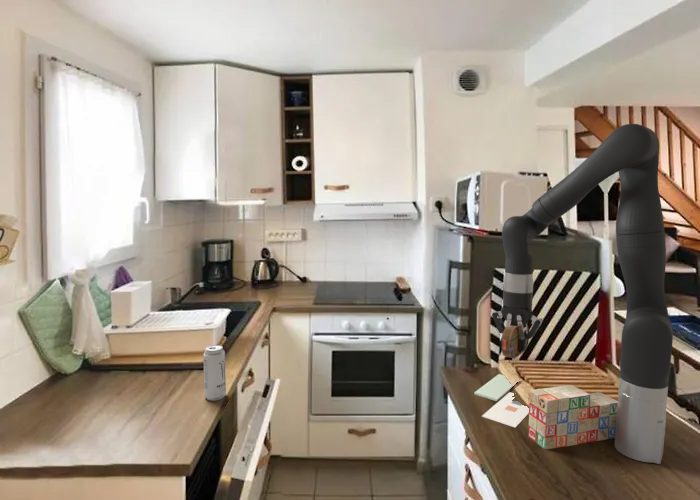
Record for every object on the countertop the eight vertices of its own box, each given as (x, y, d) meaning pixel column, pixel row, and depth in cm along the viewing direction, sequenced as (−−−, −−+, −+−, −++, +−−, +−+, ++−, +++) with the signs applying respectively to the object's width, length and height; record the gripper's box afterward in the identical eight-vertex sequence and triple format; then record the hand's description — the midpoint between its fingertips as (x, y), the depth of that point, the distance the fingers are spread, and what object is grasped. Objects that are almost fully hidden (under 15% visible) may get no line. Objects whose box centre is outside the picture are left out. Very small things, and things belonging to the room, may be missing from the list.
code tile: (539, 404, 127) (540, 400, 127) (515, 431, 112) (515, 427, 112) (509, 395, 133) (509, 391, 133) (481, 419, 118) (481, 415, 117)
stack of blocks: (597, 425, 113) (601, 380, 112) (618, 438, 107) (621, 390, 106) (527, 436, 108) (529, 389, 106) (544, 450, 102) (547, 400, 100)
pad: (519, 381, 141) (520, 379, 141) (496, 401, 126) (496, 399, 126) (498, 375, 145) (498, 373, 145) (474, 394, 131) (474, 392, 131)
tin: (510, 362, 114) (511, 331, 113) (498, 359, 116) (500, 328, 115) (529, 348, 125) (531, 319, 124) (518, 345, 127) (520, 317, 126)
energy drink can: (222, 401, 125) (221, 351, 124) (201, 401, 125) (200, 351, 124) (228, 392, 131) (227, 344, 130) (208, 392, 131) (207, 344, 130)
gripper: (549, 290, 117) (545, 352, 118) (498, 284, 126) (496, 342, 128) (540, 294, 111) (537, 360, 113) (487, 287, 120) (485, 348, 122)
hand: (515, 350), depth 120 cm, fingers closed on tin, 2 cm apart
